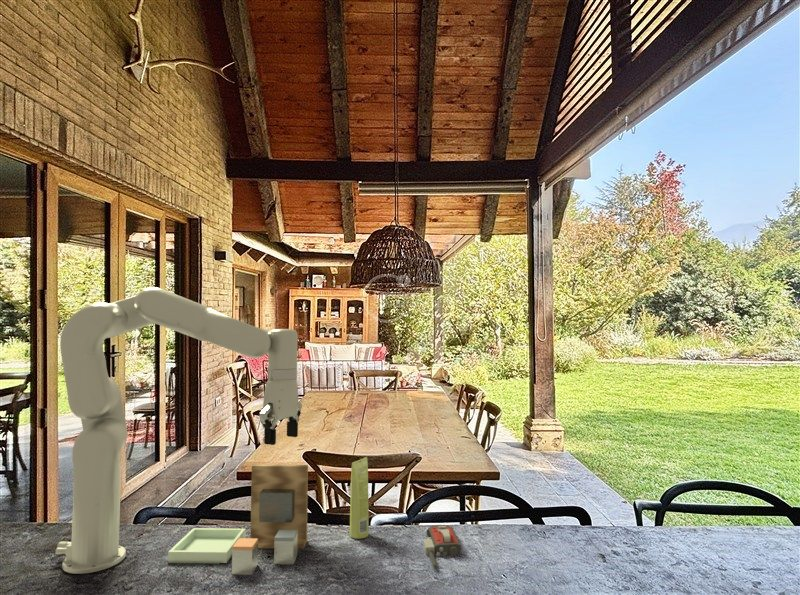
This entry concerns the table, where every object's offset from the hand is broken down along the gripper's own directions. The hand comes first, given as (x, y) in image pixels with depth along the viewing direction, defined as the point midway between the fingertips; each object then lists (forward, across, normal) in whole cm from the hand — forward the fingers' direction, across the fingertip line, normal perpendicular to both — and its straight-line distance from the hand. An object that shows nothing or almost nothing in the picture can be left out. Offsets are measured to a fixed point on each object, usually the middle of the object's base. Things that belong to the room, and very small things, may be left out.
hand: (281, 440), depth 133 cm
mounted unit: (+24, +5, +3) cm, 25 cm away
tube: (+25, -8, +19) cm, 32 cm away
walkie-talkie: (+25, -8, +42) cm, 50 cm away
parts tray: (+24, +14, -10) cm, 30 cm away
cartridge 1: (+24, +19, +4) cm, 31 cm away
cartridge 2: (+24, +11, +10) cm, 29 cm away
